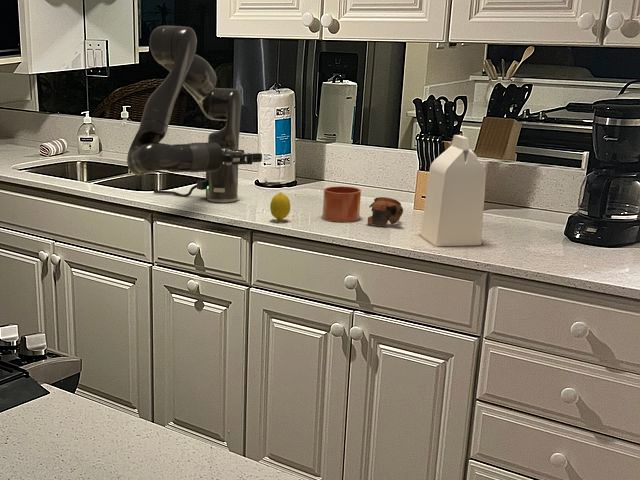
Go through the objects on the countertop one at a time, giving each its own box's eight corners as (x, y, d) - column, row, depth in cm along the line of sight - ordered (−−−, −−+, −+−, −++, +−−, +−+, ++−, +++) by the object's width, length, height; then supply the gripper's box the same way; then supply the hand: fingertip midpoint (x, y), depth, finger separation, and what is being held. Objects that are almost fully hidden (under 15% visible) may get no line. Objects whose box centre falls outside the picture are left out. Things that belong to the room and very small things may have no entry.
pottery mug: (357, 224, 258) (364, 196, 259) (381, 236, 263) (388, 208, 264) (387, 221, 248) (395, 192, 248) (412, 233, 252) (420, 205, 253)
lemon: (289, 223, 258) (290, 194, 255) (268, 222, 259) (269, 194, 256) (290, 219, 263) (291, 190, 260) (270, 218, 264) (271, 190, 261)
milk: (420, 234, 245) (429, 133, 235) (462, 233, 245) (474, 132, 236) (436, 246, 234) (446, 140, 224) (480, 245, 234) (493, 139, 225)
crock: (314, 217, 265) (316, 189, 262) (340, 212, 271) (341, 185, 268) (341, 223, 257) (343, 194, 255) (366, 218, 263) (368, 190, 260)
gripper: (216, 145, 236) (268, 144, 243) (187, 139, 247) (238, 138, 255) (214, 175, 238) (266, 173, 246) (186, 168, 250) (236, 166, 257)
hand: (252, 155), depth 250 cm, fingers open, 8 cm apart
